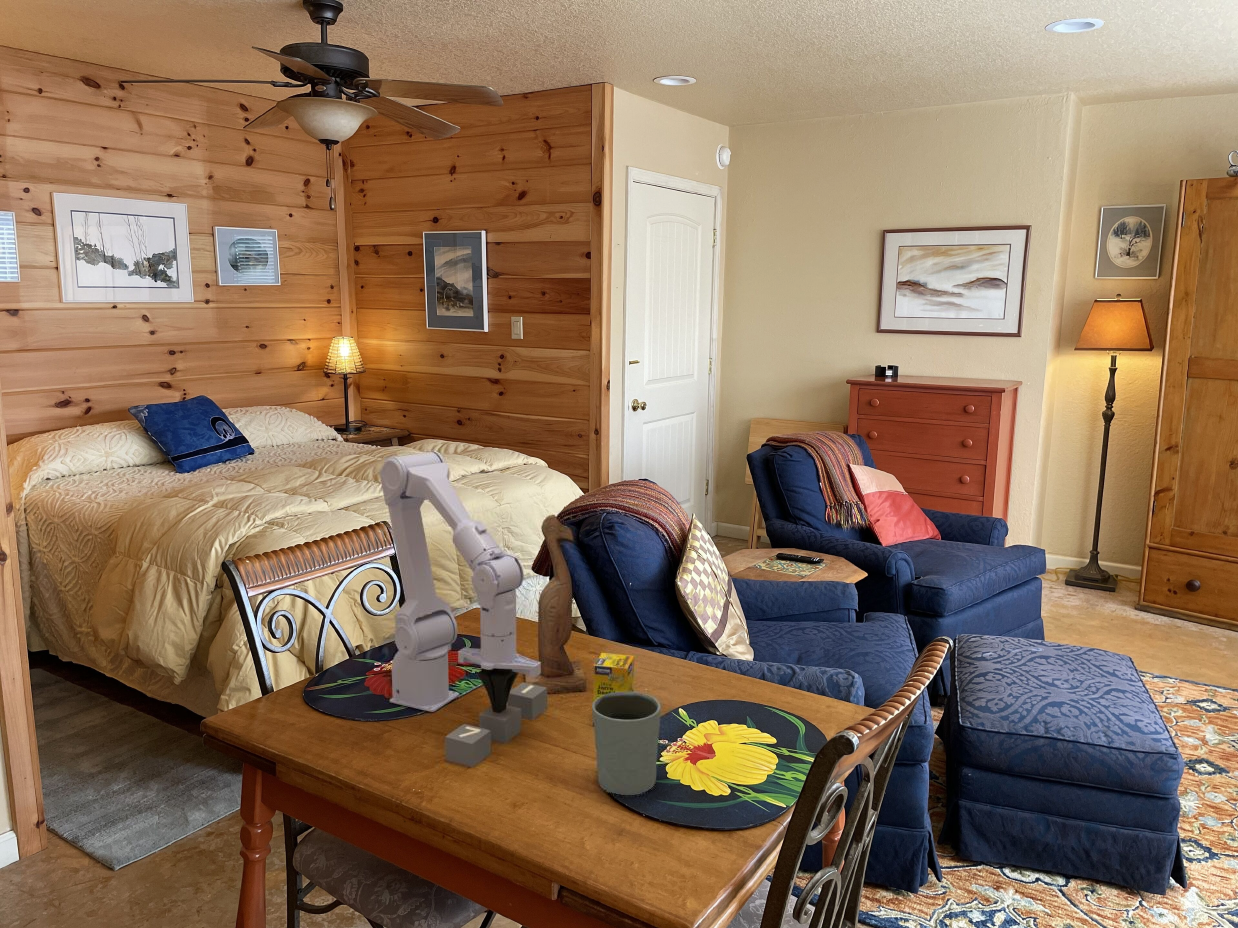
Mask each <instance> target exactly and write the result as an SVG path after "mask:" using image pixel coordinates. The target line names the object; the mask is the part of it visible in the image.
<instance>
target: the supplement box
mask: <svg viewBox="0 0 1238 928" xmlns="http://www.w3.org/2000/svg"><path fill="white" fill-rule="evenodd" d="M592 670H593V675H592V676H593V679H592V680H593V682H592V683H593V685H592V687H593V688H592V689H593V691H592V693H593V695H592V704H593V703H594V701H595V700H596V699H597V698H599V697H601V696H603V695H606V694H609V693H615V692H634V681H635V680H634V678H635V673H634V672H635V656H634V655H629V654H615V653H609V652H608V653H607V652H601V653H600V655H599V657H598V659H597V660H596V661H595V663H594V664H593V669H592ZM592 727H593V728H594V722H593V721H592Z"/></svg>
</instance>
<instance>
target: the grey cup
mask: <svg viewBox="0 0 1238 928" xmlns="http://www.w3.org/2000/svg"><path fill="white" fill-rule="evenodd" d="M591 708H592V709H591V710H592V723H593V722H594V727H593V729H594V731H593V732H594V745H595V750H596V755H595V757H596V767H597V781H598V785H599V787H600V788H601V789H602V790H603V791H605V790H606V791H605V792H606V793H609V792H610V793H611V792H612V793H616V794H621V795H635V794H640V793H642V792H645V791H648V790H649V789H651V788H652V787H653V786H654V787H655V785H654V784H656V782H657V761H658V760H657V758H658V752H659V750H658V743H659V733H660V726H661V725H660V724H661V712H662V709H661V708H662V705H661V703H660V702H659V700H658V699H657V698H655V697H653V696H651V695H650V694H646V693H642V692H637V691H633V692H615V693H609V694H606V695H603V696H601V697H599V698H597V699H596V700H595V701H594V703H593V702H592V706H591ZM654 787H653V788H654ZM653 788H652V789H653ZM652 789H651V790H652ZM610 793H609V794H610Z"/></svg>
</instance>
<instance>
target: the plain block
mask: <svg viewBox="0 0 1238 928" xmlns="http://www.w3.org/2000/svg"><path fill="white" fill-rule="evenodd" d="M478 727H479V728H483V729H487V730H491V742H495V743H500V744H503V745H504V744H505V745H506V744H507V743H508V742H510V741H511V740H512V739H514V738H515V737H516V736H517V735H518V734H520V733H521V732H522V717H521V708H516V707H512V706H506V709H505V710H504V711H502V712H501V713H497V712H493V710H492V706H491V705H490V706H489V707H487V708H486V709H485V710H483V711H482V712H480V713H479V714H478Z"/></svg>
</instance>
